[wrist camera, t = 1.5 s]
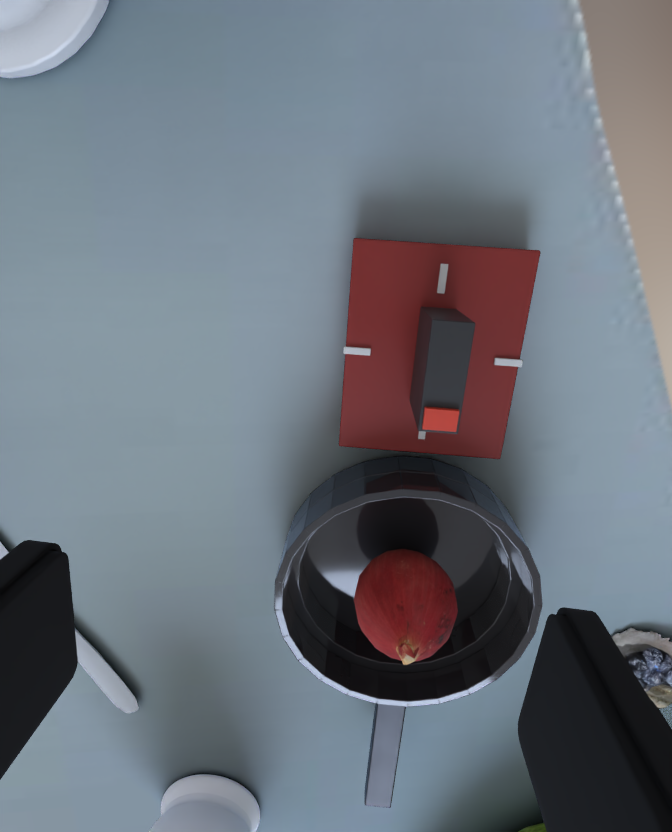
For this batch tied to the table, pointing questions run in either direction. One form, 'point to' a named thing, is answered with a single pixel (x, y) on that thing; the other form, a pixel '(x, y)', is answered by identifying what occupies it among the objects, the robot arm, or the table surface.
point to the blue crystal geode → (649, 662)
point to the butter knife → (100, 670)
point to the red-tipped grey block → (440, 369)
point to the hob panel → (397, 335)
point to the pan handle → (383, 754)
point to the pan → (418, 531)
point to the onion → (405, 605)
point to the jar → (207, 806)
